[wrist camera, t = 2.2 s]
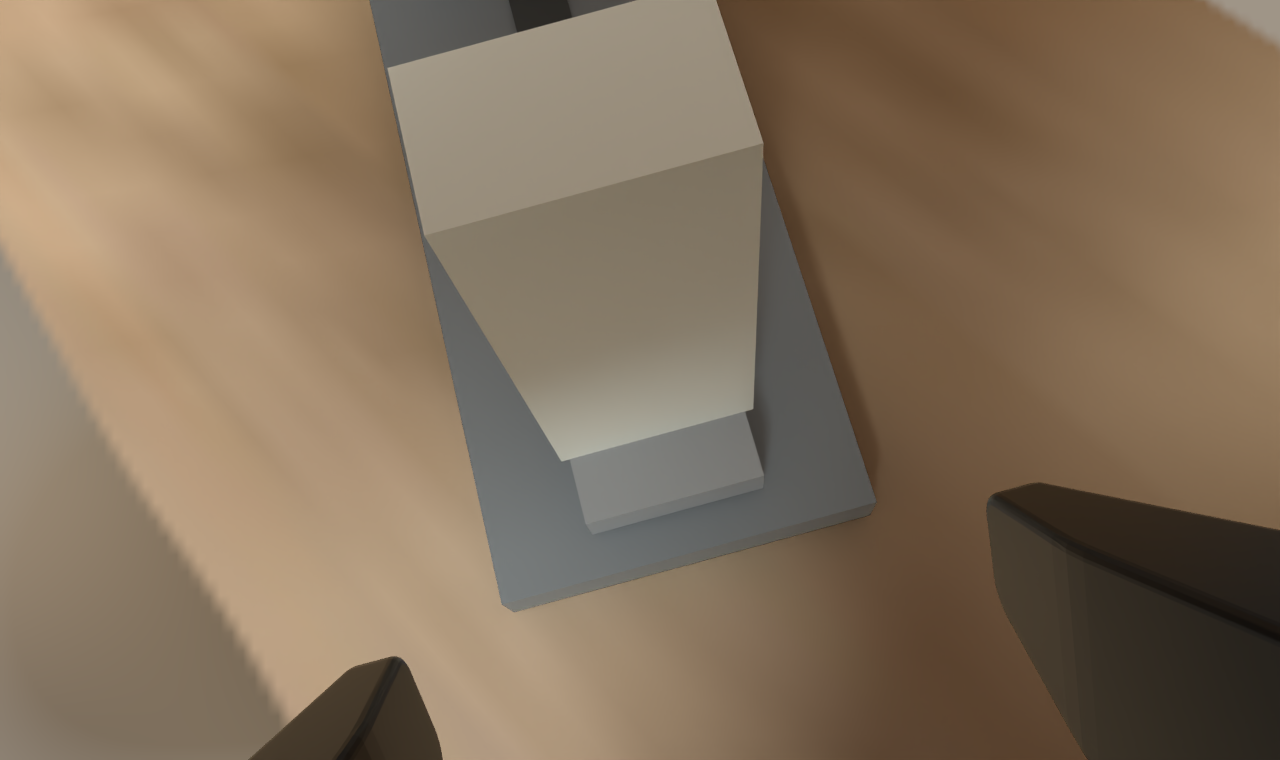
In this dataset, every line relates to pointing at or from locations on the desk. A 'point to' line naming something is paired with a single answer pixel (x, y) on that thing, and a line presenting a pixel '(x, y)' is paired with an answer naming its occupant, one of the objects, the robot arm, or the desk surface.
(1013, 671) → the desk surface
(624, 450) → the fader tab
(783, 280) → the console
